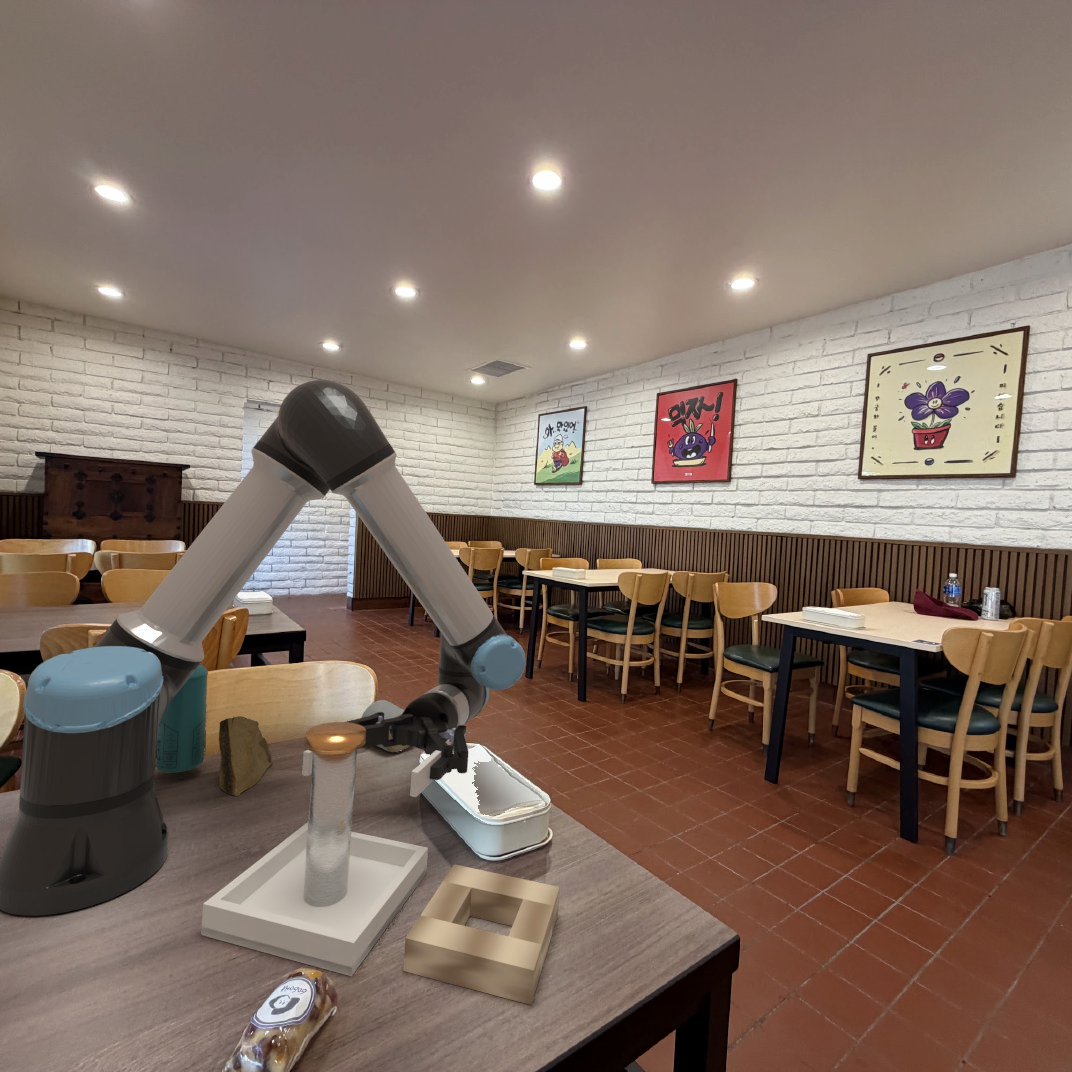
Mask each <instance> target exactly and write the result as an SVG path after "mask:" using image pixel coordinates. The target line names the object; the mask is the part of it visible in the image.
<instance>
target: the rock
mask: <svg viewBox="0 0 1072 1072" xmlns="http://www.w3.org/2000/svg"><path fill="white" fill-rule="evenodd" d="M259 725H260V724H259V721H256V720H253V719H250V718H247V717H245V716H239V715H238V716H233V717H227V718H225V719H222V720H221V721H220V722H219V729H218V745H219V752H220V753H219V754H220V764H219V788H221V790H222V791H224V792H225V793H226V794H228V795H231V796H233V797H239V796H240V795H241V794H242V793H243V792H245V791H247V790H248V789H251V788H252V787H253V786H256V784H257V783H259V781H260V780H261V778H262V777H263V775H264V774H265V772H266V770H267V769H268V768H269V767H271V765H273V763H274V760H273V757H272V753H271V752H270V749H269V744H268V742H267V741H268V740H266V738H265V737H263V734H262V732H261V730H260V727H259Z"/></svg>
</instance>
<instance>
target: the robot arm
mask: <svg viewBox="0 0 1072 1072" xmlns="http://www.w3.org/2000/svg"><path fill="white" fill-rule="evenodd" d="M251 455H252V463H253V466H252V467H251V469H250V470H249V471H248V472H247V474H246V475H245V476H244V477H243V479H242V480H241V481H240V482H239V484H238V485H237V486H236V488H235V489H234V490H233V491H232V492H231V494H230V495H229V496H228V498H227V499H226V500H225V501H224V502H223V504H222V505H221V507H220V508H219V509H218V511H217V512H216V513H215V514H214V516H213V517H211V519H210V520H209V522H208V523H207V524H206V526H204V528H203V529H202V531H200V533H199V534H198V536H197V537H196V538H195V539H194V540H193V542H192V543H191V544H190V546H189V547H188V548H187V549H186V551H185V552H184V554H182V556H181V557H180V559H178V561H177V562H176V564H175V565H174V566H173V567H172V568H171V570H170V571H169V572H168V574H167V575H166V576H165V577H164V578H163V579H162V581H161V582H160V584H159V585H158V586H157V587H156V589H155V590H154V591H153V592H152V594H151V595H150V596H149V598H148V599H147V600H146V602H145V603H144V604H143V605H142V607H140V609H137V610H135V611H130V612H129V611H128V612H125V613H121V614H119V615H118V616H117V617H116V618H115V620H114V621H113V622H112V624H111V625H110V626H109V627H108V629H107V630H106V631H105V632H104V633H103V635H102V636H101V637H100V638H99V640H98V641H97V642H96V643H95V645H94V646H93V647H87V648H81V649H76V650H72V651H71V652H70V653H62V654H61V653H60V654H58V655H55V656H53V657H50V658H48V659H46V660H44V661H43V662H41V663H40V664H39V665H37V666H36V668H35V669H34V670H33V671H32V672H31V674H30V675H29V678H28V682H27V687H26V691H25V694H24V696H23V705H22V709H23V714H24V718H23V721H24V723H23V725H24V726H23V737H22V738H23V739H22V755H21V771H20V787H19V788H20V790H19V804H18V805H19V806H18V813H17V817H16V820H15V822H14V824H13V826H12V829H11V830H10V833H9V835H8V838H7V839H6V842H5V845H4V847H3V849H2V853H1V855H0V911H2V912H4V913H8V914H10V915H11V914H12V915H18V916H31V917H32V916H33V917H34V916H47V915H48V916H49V915H55V914H57V915H58V914H62V913H67V912H73V911H77V910H80V909H85V908H89V907H91V906H95V905H97V904H100V903H103V902H106V901H109V900H111V899H113V898H116V897H118V896H121V895H122V894H124V893H127V892H129V891H130V890H133V889H134V888H136V887H137V886H139V885H140V884H143V883H144V882H145V881H147V880H148V879H149V878H150V877H152V876H153V875H154V874H155V873H156V872H157V871H159V870H160V868H161V867H162V866H163V865H164V863H165V862H166V859H167V857H168V854H169V838H170V837H169V829H168V826H167V824H166V823H165V819H164V816H163V812H162V809H161V806H160V803H159V800H158V798H157V794H156V792H155V791H156V790H155V774H156V750H157V735H158V728H159V724H160V722H161V720H162V718H163V716H164V714H165V712H166V710H167V708H168V706H169V705H170V703H171V702H172V701H173V699H174V698H175V696H176V695H177V694H178V692H179V691H180V690H181V688H182V687H183V686H184V684H185V683H186V682H187V680H188V679H189V678H190V676H191V675H192V674H193V672H194V671H195V669H196V668H197V667H198V665H199V664H201V663H202V661H203V660H204V658H205V651H204V648H203V647H204V646H203V641H204V639H205V638H206V637H207V636H208V634H209V632H210V631H211V630H212V628H213V627H214V626H215V625H216V624H217V623H218V621H219V620H220V619H221V617H222V616H223V614H224V613H225V612H226V610H227V609H228V608H229V606H230V605H231V604H232V602H233V601H234V600H235V598H237V595H238V594H239V593H241V591H242V590H243V588H244V586H245V585H246V584H247V582H248V581H249V580H250V579H251V578H252V576H253V574H254V573H255V572H256V570H257V569H258V568H259V567H260V565H261V564H262V563H263V561H264V560H265V559H266V557H267V556H268V555H269V553H270V552H271V551H272V550H273V548H274V547H275V545H276V544H277V543H278V541H279V540H280V539H281V537H282V536H283V535H284V533H285V532H286V530H287V529H289V527H290V525H291V524H292V523H293V521H294V520H295V519H296V517H297V516H298V515H299V514H300V512H301V511H302V509H304V506H306V504H307V503H309V502H311V501H316V500H317V501H318V500H321V499H324V498H325V497H326V495H327V494H328V493H329V491H331V493H332V494H335V495H340V496H343V497H344V498H345V499H346V500H347V502H348V503H349V504H350V506H351V507H352V509H353V510H354V512H355V513H356V515H357V516H358V517H359V519H360V520H361V522H362V523H363V524H364V526H365V528H366V529H367V530H368V531H369V533H370V534H371V536H372V537H373V538H374V540H375V541H376V542H377V544H378V546H379V547H380V549H382V551H383V552H384V554H385V555H386V557H387V558H388V559H389V561H390V562H391V564H392V565H393V567H394V568H395V570H397V572H398V574H399V575H400V577H401V578H402V579H403V581H404V582H405V583H406V585H407V586H408V589H410V590H411V592H412V594H413V595H414V596H415V597H416V599H417V600H418V602H419V603H420V605H422V608H423V609H424V610H425V612H426V613H427V614H428V616H429V618H430V619H431V620H432V621H433V623H434V624H435V626H436V627H437V629H438V630H439V631H440V639H439V641H440V643H439V659H438V660H439V662H438V671H437V673H438V674H437V685H436V686H434V687H433V688H431V689H430V690H428V691H426V692H424V693H423V694H422V695H420V696H419V697H417V698H416V699H414V700H412V701H411V702H409V703H408V705H407V706H406V707H405V708H404V709H403V710H404V712H403V713H402V715H401V716H399V717H395V718H390V719H385V718H384V713H383V712H377V713H375V714H373V715H371V716H368V717H363V718H361V717H360V718H355V719H350V720H347V721H346V722H349V723H355V724H359V725H361V726H363V727H364V728H365V729H366V739H365V744H364V746H362V747H361V748H360V749H363V748H368V747H369V748H370V747H374V746H376V745H381V744H382V745H383V746H384V747H390V746H396V745H402V746H406V745H409V747H414V748H416V749H418V750H421V751H423V752H424V753H425V754H426V755H429V756H427V757H426V759H424V760H423V761H421V763H420V764H419V765H417V766H416V767H415V768H414V769H412V770H411V776H410V791H409V797H414V798H417V797H418V796H419V795H421V793H422V792H423V791H425V789H426V788H427V787H428V786H429V785H430V784H431V783H432V782H433V781H439V780H441V779H442V778H443V777H444V776H445V775H446V774H449V773H451V772H452V770H456V771H457V773H458V774H466V773H468V767H469V766H468V763H469V748H468V745H467V740H466V737H467V736H466V735H467V733H466V732H467V726H466V725H467V723H468V722H469V721H471V720H472V719H473V718H475V717H476V716H478V715H479V714H480V713H481V712H482V711H483V708H485V706H486V704H487V703H488V701H489V697H490V690H493V691H503V690H507V689H509V688H511V687H512V686H514V685H516V684H517V683H518V682H519V680H520V679H521V678H522V676H523V674H524V672H525V669H526V665H527V661H526V659H527V658H526V654H525V651H524V648H523V646H522V645H521V644H520V643H519V642H518V641H516V640H517V639H515V638H514V637H512V636H511V635H508V634H507V633H506V631H505V629H504V628H503V627H502V625H501V624H500V622H499V621H498V619H497V618H496V616H495V615H494V614H493V612H492V610H491V609H490V608H489V606H488V604H487V603H486V601H485V600H484V598H483V597H482V595H481V593H480V592H479V591H478V589H477V588H476V586H475V585H474V583H473V581H472V580H471V578H470V576H469V575H468V574H467V572H466V571H465V569H464V568H463V566H462V565H461V563H460V562H459V561H458V559H457V557H456V556H455V555H454V553H453V552H452V550H451V548H450V547H449V545H448V544H447V541H445V539H444V537H443V536H442V535H441V533H440V532H439V530H438V529H437V527H436V526H435V523H433V521H432V520H431V518H430V516H429V515H428V514H427V512H426V510H425V508H424V507H423V506H422V504H421V503H420V501H419V500H418V498H417V497H416V495H415V494H414V492H413V491H412V489H411V488H410V487H409V485H408V484H407V481H406V480H405V479H404V478H403V476H402V474H401V473H400V471H399V470H398V468H397V466H396V458H397V453H396V450H395V449H394V448H393V446H392V445H391V443H390V442H389V440H388V439H387V437H386V435H385V433H384V432H383V431H382V429H381V427H380V426H379V424H378V422H377V421H376V419H375V417H374V416H373V414H372V413H371V411H370V409H369V408H368V407H367V405H366V403H364V401H363V399H362V398H361V397H359V395H358V394H357V393H355V391H353V390H352V389H350V388H349V387H348V386H345V385H344V384H341V383H339V382H336V381H334V380H333V381H332V380H325V379H317V380H309V381H306V382H304V383H301V384H299V385H297V386H295V388H293V389H291V391H290V392H288V394H286V396H285V398H283V400H282V402H281V404H280V407H279V410H278V414H277V417H276V418H275V419H274V421H273V422H272V423H271V425H269V426H268V428H267V429H266V431H265V432H264V433H263V435H262V436H261V437H260V439H259V440H257V442H256V443H255V445H254V446H253V447H252V448H251ZM389 729H390V734H391V736H392V739H389ZM447 741H449V742H450V744H448V743H447ZM302 755H303V757H302V768H301V769H302V772H301V773H302V774H301V776H305V777H309V776H311V774H312V759H313V752H312V751H309V750H308V749H307V750H304V751H303V754H302Z"/></svg>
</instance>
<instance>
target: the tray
mask: <svg viewBox="0 0 1072 1072" xmlns="http://www.w3.org/2000/svg"><path fill="white" fill-rule="evenodd" d="M307 833H308V821H307V822H306V823H305V824H303V825H302V826H301V827H299V828H298V829H297V830H296V831H294V832H293V833H292V834H291V835H289V836H288V837H287V838H285V839H284V840H283V841H282V842H281V843H279V844H278V845H276V846H275V847H273V849H271V850H269V852H267V853H266V854H265V855H264V856H262V857H261V858H260V859H258V860H257V861H256V862H255V863H254V864H252V865H251V866H249V867H248V868H247V869H245V871H243V872H242V873H240V874H239V875H238V876H236V877H235V878H234V879H233V880H232V881H231V882H229V883H228V884H226V885H225V886H224V887H222V888H221V889H220V890H219V891H218V892H216V893H214V895H213V896H211V897H210V898H209V899H207V900H206V901H205V902H203V904H202V914H201V915H202V917H201V931H200V935H201V936H203V937H206V938H211V939H213V940H218V941H222V942H226V943H228V944H232V945H236V946H241V947H242V948H247V949H251V950H254V951H257V952H262V953H265V954H269V955H272V956H276V957H279V958H283V959H287V960H290V961H294V962H297V963H301V964H305V965H308V966H312V967H316V968H320V969H323V970H327V971H329V972H334V973H337V974H341V975H345V976H348V977H353V975H354V974H355V973H356V971H357V970H358V969H359V967H360V965H361V964H362V963H363V962H364V960H365V959H366V957H367V956H368V955H369V953H370V952H371V951H372V950H373V947H374V946H375V945H376V943H377V942H378V941H379V940H380V938H381V936H382V935H383V934H384V932H385V931H386V930H387V929H388V927H389V926H390V925H391V922H393V920H394V919H395V918H396V916H397V914H398V913H399V912H400V911H401V909H402V908H403V906H404V905H405V904H406V903H407V901H408V899H409V898H410V896H412V895H413V892H414V891H415V890H416V888H417V887H418V885H419V884H420V883H421V881H422V880H423V879H424V877H425V876H426V875H427V872H428V855H429V847H427V846H421V845H417V844H412V843H407V842H402V841H399V840H393V839H390V838H389V839H388V838H383V837H379V836H374V835H369V834H365V833H361V832H355V831H351V845H350V860H349V875H348V889H347V894H346V896H345V897H344V898H343V899H342V900H341V901H339V902H338V903H336V904H333V905H330V906H326V907H315V906H311V905H308V904H307V903H306V902H305V901H304V899H303V893H304V878H305V863H306V848H307Z"/></svg>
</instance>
